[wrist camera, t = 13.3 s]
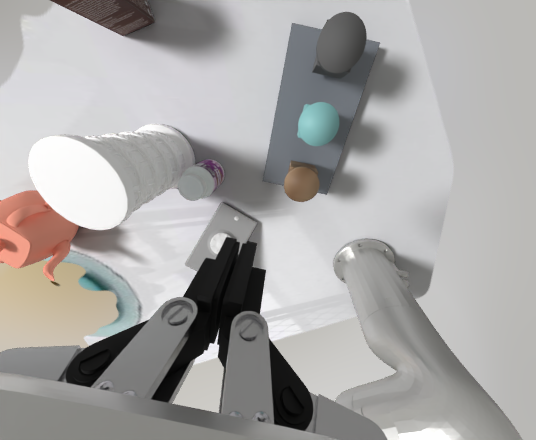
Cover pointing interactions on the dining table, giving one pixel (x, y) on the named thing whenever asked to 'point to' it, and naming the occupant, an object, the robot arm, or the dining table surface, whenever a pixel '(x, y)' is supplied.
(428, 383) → the robot arm
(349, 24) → the dark grey round-topped block
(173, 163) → the decorative container
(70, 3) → the box
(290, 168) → the walnut key
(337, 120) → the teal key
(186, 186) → the pill bottle
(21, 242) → the teapot
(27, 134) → the dining table surface
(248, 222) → the light switch
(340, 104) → the panel
